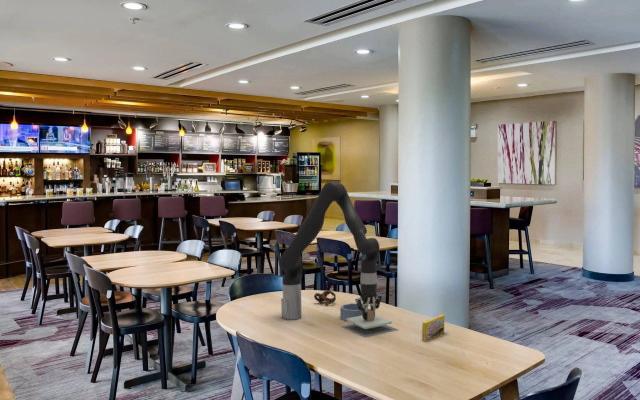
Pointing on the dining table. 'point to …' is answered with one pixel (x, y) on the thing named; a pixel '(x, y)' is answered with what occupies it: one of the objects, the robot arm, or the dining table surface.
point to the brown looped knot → (325, 297)
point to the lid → (369, 320)
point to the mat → (369, 330)
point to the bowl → (349, 311)
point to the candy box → (433, 327)
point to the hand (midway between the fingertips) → (368, 318)
